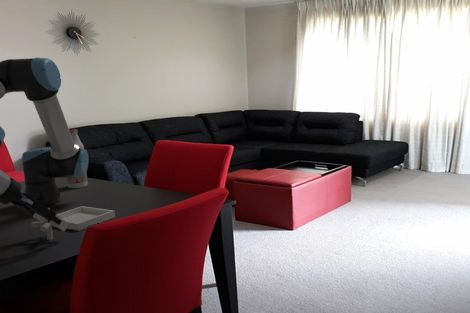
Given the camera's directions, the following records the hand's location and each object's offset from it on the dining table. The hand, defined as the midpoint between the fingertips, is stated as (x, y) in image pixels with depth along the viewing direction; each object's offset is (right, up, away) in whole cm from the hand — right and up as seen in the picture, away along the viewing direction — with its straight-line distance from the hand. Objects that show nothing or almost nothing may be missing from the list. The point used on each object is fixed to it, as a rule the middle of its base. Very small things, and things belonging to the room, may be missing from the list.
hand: (58, 225), depth 146 cm
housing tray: (+2, -1, +17) cm, 17 cm away
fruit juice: (-20, +7, +75) cm, 78 cm away
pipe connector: (-2, -4, -2) cm, 5 cm away
